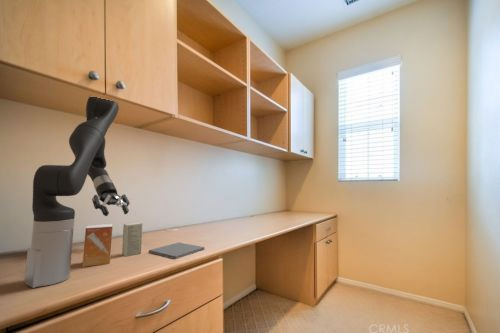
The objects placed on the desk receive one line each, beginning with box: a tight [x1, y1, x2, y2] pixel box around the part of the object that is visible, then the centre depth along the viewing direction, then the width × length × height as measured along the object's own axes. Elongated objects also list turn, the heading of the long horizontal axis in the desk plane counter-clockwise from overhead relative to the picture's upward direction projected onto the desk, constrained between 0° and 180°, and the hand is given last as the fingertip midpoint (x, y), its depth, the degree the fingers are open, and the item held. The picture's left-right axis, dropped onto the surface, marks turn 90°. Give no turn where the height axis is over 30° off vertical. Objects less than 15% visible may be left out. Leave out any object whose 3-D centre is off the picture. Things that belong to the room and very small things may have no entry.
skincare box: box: [121, 221, 143, 257], centre depth 93 cm, size 6×4×12 cm
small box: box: [82, 223, 113, 268], centre depth 82 cm, size 8×6×13 cm
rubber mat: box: [148, 242, 205, 260], centre depth 98 cm, size 16×16×1 cm
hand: (117, 213), depth 100 cm, fingers open, 8 cm apart
